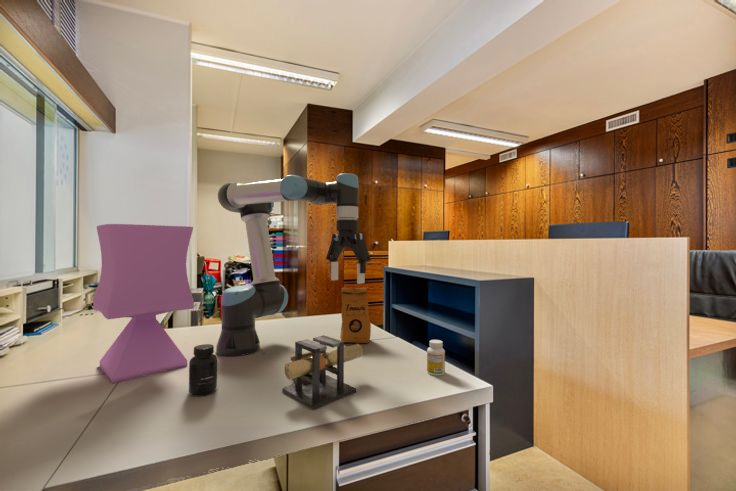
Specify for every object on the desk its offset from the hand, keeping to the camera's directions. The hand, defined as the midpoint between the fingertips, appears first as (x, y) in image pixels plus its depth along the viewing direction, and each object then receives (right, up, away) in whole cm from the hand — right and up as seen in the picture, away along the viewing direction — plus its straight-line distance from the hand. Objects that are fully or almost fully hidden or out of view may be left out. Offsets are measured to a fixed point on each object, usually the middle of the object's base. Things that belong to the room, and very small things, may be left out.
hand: (347, 281), depth 116 cm
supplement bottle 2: (+28, -27, -11) cm, 41 cm away
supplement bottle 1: (-37, -27, -25) cm, 52 cm away
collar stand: (-6, -27, -25) cm, 37 cm away
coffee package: (+2, -27, +22) cm, 35 cm away
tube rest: (-11, -27, -15) cm, 32 cm away
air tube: (-4, -19, -23) cm, 30 cm away
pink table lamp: (-65, -27, -7) cm, 71 cm away
